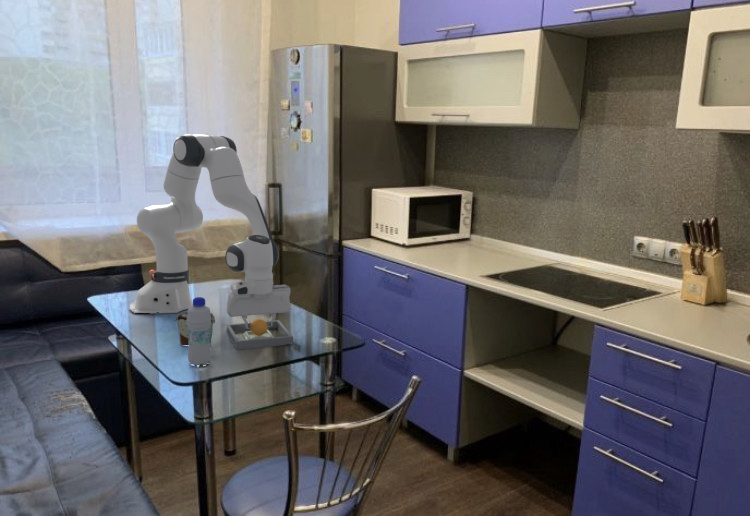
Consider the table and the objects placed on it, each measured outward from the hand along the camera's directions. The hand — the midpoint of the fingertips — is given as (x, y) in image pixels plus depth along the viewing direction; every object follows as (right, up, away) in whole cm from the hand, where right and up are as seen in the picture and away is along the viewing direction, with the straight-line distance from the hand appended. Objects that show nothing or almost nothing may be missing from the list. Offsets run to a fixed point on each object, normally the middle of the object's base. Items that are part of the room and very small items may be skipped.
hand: (258, 327), depth 192 cm
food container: (-18, -5, -7) cm, 19 cm away
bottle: (-12, -8, -24) cm, 28 cm away
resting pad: (0, -4, +1) cm, 4 cm away
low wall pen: (0, -4, +1) cm, 4 cm away
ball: (0, 0, 0) cm, 0 cm away
